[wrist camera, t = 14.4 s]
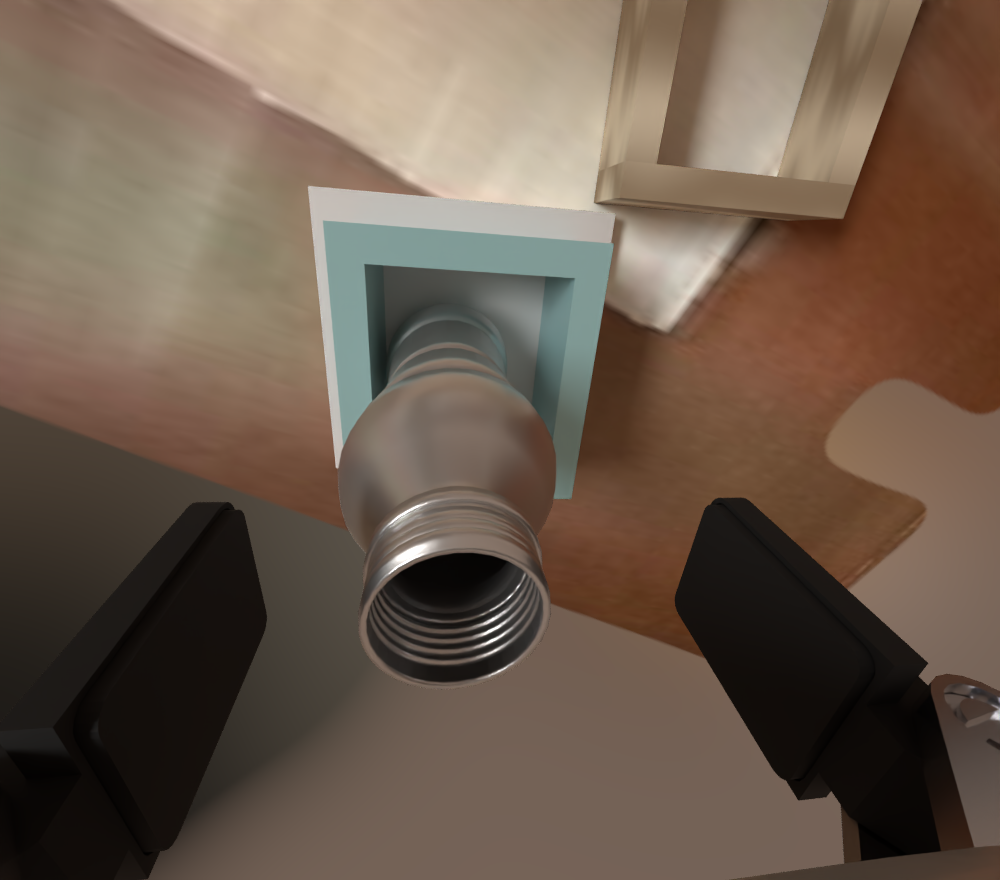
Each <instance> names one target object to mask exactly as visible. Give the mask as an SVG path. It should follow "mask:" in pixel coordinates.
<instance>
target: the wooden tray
mask: <svg viewBox="0 0 1000 880" xmlns="http://www.w3.org/2000/svg"><path fill="white" fill-rule="evenodd" d="M687 2H688V0H623V5H622V12H621V19H620V26H619V33H618V39H617V46H616V53H615V60H614V67H613V74H612V81H611V88H610V95H609V102H608V109H607V116H606V123H605V130H604V137H603V144H602V151H601V157H600V164H599V171H598V178H597V185H596V192H595V199H594V203H604V204H614V205H625V206H636V207H647V208H658V209H668V210H679V211H690V212H701V213H712V214H722V215H733V216H744V217H755V218H766V219H777V220H787V221H790V220H823V219H843V218H844V215H845V212H846V209H847V207H848V204H849V201H850V198H851V196H852V193H853V190H854V187H855V185H856V182H857V179H858V176H859V174H860V171H861V168H862V165H863V163H864V160H865V157H866V154H867V152H868V149H869V146H870V143H871V141H872V138H873V135H874V132H875V130H876V127H877V124H878V121H879V118H880V116H881V113H882V110H883V107H884V105H885V102H886V99H887V96H888V94H889V91H890V88H891V85H892V83H893V80H894V77H895V74H896V72H897V69H898V66H899V63H900V61H901V58H902V55H903V52H904V50H905V47H906V44H907V41H908V39H909V36H910V33H911V30H912V28H913V25H914V22H915V19H916V16H917V14H918V11H919V8H920V5H921V3H922V0H829V3H828V7H827V10H826V14H825V17H824V20H823V24H822V27H821V31H820V34H819V37H818V41H817V44H816V47H815V51H814V54H813V58H812V61H811V64H810V68H809V71H808V75H807V78H806V81H805V85H804V88H803V92H802V95H801V98H800V102H799V105H798V109H797V112H796V115H795V119H794V122H793V126H792V129H791V132H790V136H789V139H788V142H787V146H786V149H785V153H784V156H783V159H782V163H781V166H780V170H779V173H778V176H777V177H774V176H764V175H755V174H746V173H736V172H727V171H718V170H708V169H699V168H690V167H680V166H671V165H662V164H657V159H658V154H659V149H660V143H661V138H662V133H663V128H664V122H665V117H666V112H667V107H668V102H669V96H670V91H671V86H672V81H673V75H674V70H675V65H676V60H677V55H678V49H679V44H680V39H681V34H682V28H683V23H684V18H685V13H686V8H687Z"/></svg>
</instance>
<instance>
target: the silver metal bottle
mask: <svg viewBox="0 0 1000 880" xmlns="http://www.w3.org/2000/svg"><path fill="white" fill-rule="evenodd" d="M386 375H387V381H388V384H387V386H386V388H385V389H384V390H383V391H382V392H381V393H380V394H379V395H378V396H377V397H376V398H375V399H374V400H373V401H372V402H371V403H370V404H369V405H368V407H367V408H366V409H365V411H364V412H363V413H362V415H361V416H360V417H359V419H358V420H357V422H356V423H355V425H354V427H353V428H352V429H351V431H350V433H349V435H348V437H347V440H346V442H345V444H344V446H343V449H342V451H341V457H340V462H339V467H338V488H339V496H340V504H341V509H342V512H343V516H344V520H345V523H346V526H347V527H348V529H349V531H350V533H351V535H352V537H353V538H354V540H355V541H356V543H357V544H358V545H359V546H360V547H361V548H362V550H363V551H364V552H365V553H366V556H365V561H364V566H363V584H364V589H363V594H362V598H361V603H360V607H359V611H358V615H359V637H360V640H361V643H362V646H363V649H364V651H365V652H366V654H367V655H368V657H369V658H370V660H371V661H372V662H373V663H374V664H375V665H376V666H377V667H378V668H379V669H380V670H381V671H383V672H384V673H386V674H388V675H389V676H391V677H392V678H394V679H396V680H399V681H401V682H404V683H406V684H408V685H413V686H417V687H421V688H429V689H441V690H442V689H459V688H464V687H470V686H475V685H478V684H481V683H485V682H488V681H491V680H493V679H495V678H497V677H499V676H501V675H503V674H505V673H507V672H509V671H510V670H512V669H513V668H515V667H516V666H518V665H519V664H521V663H522V662H523V661H524V660H525V659H526V658H527V657H528V656H529V655H531V654H532V652H533V651H534V650H535V649H536V647H537V646H538V645H539V643H540V642H541V640H542V639H543V636H544V634H545V632H546V630H547V628H548V624H549V620H550V615H551V608H550V607H551V606H550V591H549V588H548V585H547V581H546V578H545V575H544V572H543V569H542V551H541V548H540V545H539V541H538V538H537V535H538V533H539V532H540V530H541V529H542V527H543V526H544V524H545V522H546V520H547V517H548V515H549V513H550V510H551V508H552V503H553V498H554V493H555V486H556V453H555V449H554V445H553V441H552V437H551V435H550V433H549V431H548V429H547V427H546V425H545V423H544V421H543V419H542V418H541V417H540V415H539V414H538V413H537V411H536V410H535V408H534V407H533V406H532V405H531V404H530V402H529V401H528V400H527V399H526V398H525V396H524V395H523V394H521V393H520V392H519V391H518V390H517V389H516V388H515V387H514V386H513V385H512V384H511V383H509V382H508V380H507V353H506V349H505V345H504V341H503V339H502V337H501V335H500V333H499V331H498V330H497V328H496V327H495V326H494V325H493V323H492V322H491V321H490V320H489V319H488V318H487V317H485V316H484V315H483V314H482V313H480V312H478V311H476V310H474V309H472V308H471V307H467V306H464V305H460V304H452V303H443V304H435V305H431V306H428V307H426V308H423V309H421V310H419V311H417V312H416V313H414V314H412V315H411V316H410V317H408V318H407V319H406V320H405V321H404V322H403V323H402V324H401V325H400V327H399V328H398V329H397V331H396V332H395V334H394V336H393V338H392V340H391V342H390V345H389V348H388V353H387V359H386Z"/></svg>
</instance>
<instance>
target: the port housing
mask: <svg viewBox="0 0 1000 880" xmlns="http://www.w3.org/2000/svg"><path fill="white" fill-rule="evenodd" d="M308 192H309V202H310V212H311V222H312V232H313V242H314V252H315V262H316V272H317V282H318V292H319V302H320V312H321V322H322V332H323V342H324V352H325V362H326V372H327V382H328V392H329V402H330V412H331V422H332V432H333V442H334V452H335V462H336V468H338V467H339V462H340V457H341V451H342V449H343V446H344V444H345V442H346V440H347V437H348V435H349V433H350V431H351V429H352V428H353V427H354V425H355V423H356V422H357V420H358V419H359V417H360V416H361V415H362V413H363V412H364V411H365V409H366V408H367V407H368V405H369V404H370V403H371V402H372V401H373V400H374V399H375V398H376V397H377V396H378V395H379V394H380V393H381V392H382V391H383V390H384V389H385V388H386V386H387V384H388V381H387V375H386V359H387V353H388V348H389V345H390V342H391V340H392V338H393V336H394V334H395V332H396V331H397V329H398V328H399V327H400V325H401V324H402V323H403V322H404V321H405V320H406V319H407V318H408V317H410V316H411V315H412V314H414V313H416V312H417V311H419V310H421V309H423V308H426V307H428V306H431V305H435V304H443V303H452V304H460V305H464V306H467V307H471V308H472V309H474V310H476V311H478V312H480V313H482V314H483V315H484V316H485V317H487V318H488V319H489V320H490V321H491V322H492V323H493V325H494V326H495V327H496V328H497V330H498V331H499V333H500V335H501V337H502V339H503V341H504V345H505V349H506V353H507V380H508V382H509V383H511V384H512V385H513V386H514V387H515V388H516V389H517V390H518V391H519V392H520V393H521V394H523V395H524V396H525V398H526V399H527V400H528V401H529V402H530V404H531V405H532V406H533V407H534V408H535V410H536V411H537V413H538V414H539V415H540V417H541V418H542V419H543V421H544V423H545V425H546V427H547V429H548V431H549V433H550V435H551V437H552V441H553V445H554V449H555V453H556V486H555V493H554V498H553V499H571V498H572V492H573V486H574V480H575V474H576V468H577V462H578V456H579V450H580V444H581V438H582V432H583V426H584V420H585V414H586V408H587V402H588V396H589V390H590V384H591V378H592V372H593V366H594V360H595V354H596V348H597V342H598V336H599V330H600V324H601V318H602V312H603V306H604V300H605V294H606V288H607V282H608V276H609V270H610V264H611V258H612V252H613V246H614V244H612V243H611V240H612V233H613V227H614V221H615V215H616V214H615V213H604V212H593V211H582V210H570V209H559V208H548V207H537V206H526V205H515V204H503V203H492V202H481V201H470V200H459V199H448V198H436V197H425V196H414V195H403V194H392V193H381V192H370V191H358V190H347V189H336V188H325V187H314V186H308Z"/></svg>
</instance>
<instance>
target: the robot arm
mask: <svg viewBox="0 0 1000 880" xmlns="http://www.w3.org/2000/svg"><path fill="white" fill-rule="evenodd" d="M675 606H676V609H677V612H678V614H679V616H680V617H681V619H682V621H683V622H684V624H685V625H686V627H687V629H688V630H689V632H690V634H691V635H692V637H693V639H694V640H695V642H696V644H697V645H698V647H699V649H700V650H701V652H702V653H703V655H704V657H705V658H706V660H707V662H708V663H709V665H710V667H711V668H712V670H713V672H714V673H715V675H716V677H717V678H718V680H719V681H720V683H721V684H722V686H723V688H724V690H725V691H726V693H727V695H728V696H729V698H730V700H731V701H732V703H733V704H734V706H735V708H736V709H737V711H738V713H739V714H740V716H741V718H742V719H743V721H744V723H745V724H746V726H747V728H748V729H749V731H750V733H751V734H752V736H753V737H754V739H755V741H756V742H757V744H758V746H759V747H760V749H761V751H762V752H763V754H764V756H765V757H766V759H767V761H768V762H769V764H770V765H771V767H772V769H773V770H774V771H775V773H776V774H777V775H778V776H779V777H780V778H782V779H784V780H786V781H787V783H788V784H789V786H790V788H791V789H792V791H793V792H794V794H795V796H796V797H797V799H798V800H805V799H815V798H823V797H827V795H828V794H829V793H830V792H831V791H832V792H833V794H834V795H835V797H836V798H837V800H838V801H839V803H840V804H841V821H842V837H843V852H844V853H843V855H844V864H838V865H831V866H824V867H817V868H810V869H803V870H795V871H788V872H781V873H774V874H767V875H760V876H753V877H745V878H738V879H731V880H1000V691H998V690H996V689H994V688H991V687H990V686H988V685H986V684H984V683H982V682H979V681H975V680H973V679H970V678H967V677H964V676H958V675H951V674H944V675H940V676H936V677H935V678H934V679H933V680H932V682H931V683H930V684H929V685H927V684H926V683H925V682H923V680H922V679H920V678H919V677H918V676H919V675H920V673H921V672H922V671H923V669H924V668H925V667H926V665H927V664H928V662H926V661H925V660H924V659H923V658H922V657H921V656H920V655H919V654H918V653H916V652H915V651H914V650H913V649H912V648H911V647H910V646H909V645H908V644H907V643H905V642H904V641H903V640H902V639H901V638H900V637H899V636H898V635H896V633H894V632H893V631H892V630H891V629H890V628H889V627H888V626H886V624H885V623H883V622H882V621H881V620H880V619H879V618H878V617H877V616H876V615H875V614H873V613H872V612H871V611H870V610H869V609H868V608H867V607H866V606H865V605H864V604H862V603H861V602H860V601H859V600H858V599H857V598H856V597H855V596H854V595H853V594H851V593H850V592H849V591H848V590H847V589H846V588H845V587H844V586H843V585H842V584H840V583H839V582H838V581H837V580H836V579H835V578H834V577H833V576H832V575H830V574H829V573H828V572H827V571H826V570H825V569H824V568H823V567H822V566H821V565H819V564H818V563H817V562H816V561H815V560H814V559H813V558H812V557H811V556H810V555H808V554H807V553H806V552H805V551H804V550H803V549H802V548H801V547H800V546H799V545H797V544H796V543H795V542H794V541H793V540H792V539H791V538H790V537H789V536H787V535H786V534H785V533H784V532H783V531H782V530H781V529H780V528H779V527H778V526H776V525H775V524H774V523H773V522H772V521H771V520H770V519H769V518H768V517H767V516H765V515H764V514H763V513H762V512H761V511H760V510H759V509H758V508H757V507H756V506H754V505H753V504H752V503H751V502H750V501H749V500H747V499H745V498H717V499H715V500H714V501H713V502H712V503H711V505H708V506H707V507H706V508H705V510H704V513H703V515H702V518H701V521H700V524H699V527H698V530H697V533H696V536H695V539H694V542H693V545H692V548H691V551H690V554H689V556H688V559H687V562H686V565H685V568H684V571H683V574H682V577H681V580H680V583H679V586H678V589H677V592H676V595H675ZM266 621H267V615H266V609H265V604H264V600H263V596H262V591H261V587H260V582H259V578H258V573H257V569H256V564H255V560H254V556H253V551H252V547H251V542H250V538H249V534H248V529H247V525H246V520H245V516H244V513H243V512H242V511H241V510H235V509H234V507H233V505H232V504H231V503H229V502H196V503H192V504H191V505H190V506H189V507H188V508H187V509H186V510H185V511H184V513H182V515H181V516H180V517H179V518H178V519H177V520H176V521H175V523H174V524H173V525H172V526H171V527H170V528H169V529H168V531H167V532H166V533H165V534H164V535H163V536H162V538H161V539H160V540H159V541H158V542H157V543H156V544H155V546H154V547H153V548H152V549H151V550H150V551H149V552H148V553H147V555H146V556H145V557H144V558H143V559H142V561H141V562H140V563H139V564H138V565H137V566H136V567H135V569H134V570H133V571H132V572H131V573H130V574H129V575H128V576H127V578H126V579H125V580H124V581H123V582H122V583H121V585H120V586H119V587H118V588H117V589H116V590H115V591H114V593H113V594H112V595H111V596H110V597H109V598H108V599H107V600H106V602H105V603H104V604H103V605H102V606H101V607H100V609H99V610H98V611H97V612H96V613H95V614H94V615H93V616H92V618H91V619H90V620H89V621H88V622H87V623H86V624H85V626H84V627H83V628H82V629H81V630H80V631H79V632H78V634H77V635H76V636H75V637H74V638H73V639H72V641H71V642H70V643H69V644H68V645H67V646H66V648H65V649H64V650H63V651H62V652H61V653H60V654H59V655H58V657H57V658H56V659H55V660H54V661H53V662H52V663H51V665H50V666H49V667H48V668H47V669H46V670H45V671H44V673H43V674H42V675H41V676H40V677H39V678H38V679H37V681H36V682H35V683H34V684H33V685H32V686H31V687H30V689H29V690H28V691H27V692H26V693H25V694H24V695H23V697H22V698H21V699H20V700H19V701H18V702H17V703H16V705H15V706H14V707H13V708H12V709H11V710H10V711H9V713H8V714H7V715H6V716H5V717H4V718H3V719H2V721H1V722H0V880H144V879H148V878H149V875H150V873H151V870H152V868H153V866H154V864H155V862H156V859H157V857H158V855H159V852H160V851H164V850H167V849H169V848H170V847H171V846H172V845H173V843H174V841H175V840H176V838H177V836H178V834H179V832H180V830H181V827H182V825H183V823H184V821H185V818H186V816H187V814H188V811H189V808H190V806H191V804H192V802H193V799H194V797H195V795H196V792H197V790H198V787H199V785H200V783H201V780H202V778H203V776H204V773H205V771H206V769H207V766H208V764H209V761H210V759H211V757H212V755H213V752H214V750H215V747H216V745H217V743H218V740H219V738H220V736H221V733H222V731H223V729H224V726H225V724H226V721H227V719H228V717H229V714H230V712H231V709H232V707H233V705H234V703H235V700H236V698H237V695H238V693H239V691H240V688H241V686H242V684H243V681H244V679H245V677H246V674H247V672H248V669H249V667H250V665H251V663H252V660H253V658H254V655H255V653H256V651H257V648H258V646H259V644H260V641H261V639H262V636H263V634H264V631H265V627H266Z"/></svg>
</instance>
